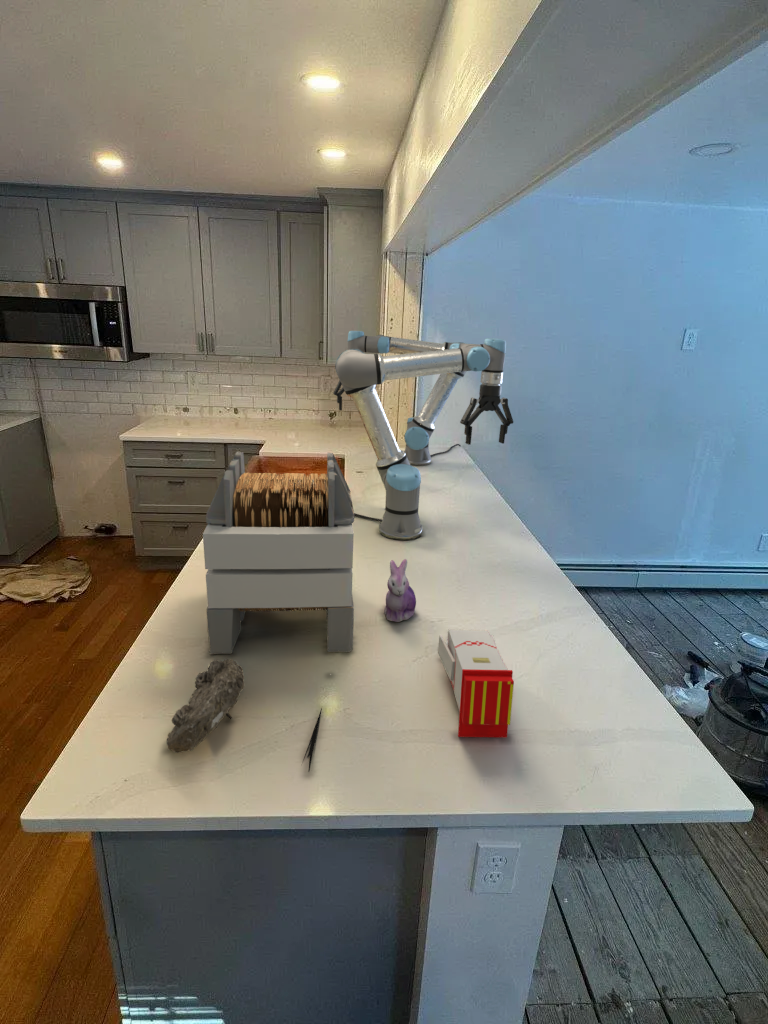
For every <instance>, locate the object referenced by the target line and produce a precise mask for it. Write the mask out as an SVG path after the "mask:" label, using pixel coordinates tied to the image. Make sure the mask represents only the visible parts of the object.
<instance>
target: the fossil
mask: <svg viewBox="0 0 768 1024" xmlns="http://www.w3.org/2000/svg"><path fill="white" fill-rule="evenodd" d="M243 670H244V669H243V667H242V665H240V664H237V662H236V661H235V660H234V659H232V658H231V659H227V658H226V659H224V660H223V661H222V660H217V659H212V660H211V661H210V663H209V665H208V666H207V671H201V672H199V673H198V674H197V675H196V676H195V680H194V684H195V685H194V687H195V689H194V690H193V693H192V694H191V697H190V698H189V700H188V704H184V705H182V706H181V707H180V709H177V710H176V711H175V713H174V715H173V716H172V718H171V723H172V724H173V727H172V730H171V731H170V732H168V734H167V738H166V741H167V742H166V745H167V749H168V750H169V751H173V752H174V753H176V754H178V753H182V752H188V751H189V752H192V751H193V750H195V748H196V747H197V746H199V744H200V743H201V742H203V741H204V740H205V739H206V738H207V737H208V736H209V735H210V734H211V733H212V732H214V730H215V729H217V727H218V726H219V724H220V722H221V721H222V720H223V719H224V718H225V716H226V717H227V719H229V720H233V717H232V715H230V714H229V710H230V709H231V708H234V706H235V704H236V703H237V702H238V699H239V697H240V695H241V693H242V691H243V690H245V689H244V688H245V675H244V671H243Z"/></svg>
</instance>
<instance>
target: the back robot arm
mask: <svg viewBox="0 0 768 1024" xmlns="http://www.w3.org/2000/svg"><path fill="white" fill-rule="evenodd" d="M454 343H455V342H448V341H444V342H443V343H440V342H431V341H424V340H417V339H409V338H403V337H395V336H388V335H387V336H386V335H384V334H377V335H375V336H374V335H365V332H364V331H363V330H349V331H348V333H347V350H350V349H357V350H360V351H362V352H363V353H364V354H380V355H381V354H388V353H389V354H395V355H400V354H409V353H418V352H428V351H437V350H446V349H449V348H450V346H451V344H454ZM458 343H463V344H466V342H465V343H464V342H458ZM466 373H467V371H463V372H453V373H444V374H439V376H438V378H437V380H436V381H435V383H434V386H433V387H432V389H431V391H430V393H429V395H428V397H427V398H426V400H425V402H424V403H423V406H422V407H421V409H420V411H419V414H418V415H415V416H413V417H408V418H407V422H406V431H405V433H404V438H403V439H404V443H405V448H404V450H403V451H404V452H405V454H406V456H407V458H408V460H409V461H410V462H411V464H410V465H411V466H428V465H430V464H431V463H432V457H434V456H438V455H443V454H446V453H449V452H450V451H451V450H452V449H453V448H455V447H456V446H459V447H462V446H461V444H460V443H456V444H453V445H452V446H450V448H449V449H448V450H445V451H440V452H435V453H433V454H431V453H430V449H429V446H430V445H429V444H430V439H431V437H432V435H433V433H434V432H435V429H436V427H435V422H436V421H437V419H438V417H439V416H440V414H441V412H442V410H443V408H444V406H445V404H446V403H447V401H448V399H449V398H450V395H451V394H452V392H453V390H454V388H455V386H456V385H457V383H458V381H459V380H461V379H463V378H464V377H465V375H466ZM338 380H339V379H338ZM332 393H333V395H334V396H336V403H337V404H338V410H339V411H343V396H342V395H343V394H344V393H345V390H344V388H343V386H342V383H341V381H340V380H339V381H338V383H337V385H336V387H335V388H334V391H333V392H332Z"/></svg>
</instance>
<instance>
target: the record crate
mask: <svg viewBox="0 0 768 1024" xmlns="http://www.w3.org/2000/svg"><path fill="white" fill-rule="evenodd" d="M244 455H245V454H244V451H242V452H241V451H236V452H235V454H234V456H233V458H232V459H230V463H229V465H228V467H227V469H226V470H224V473H223V475H222V478H221V479H220V482H219V484H218V487H217V489H216V491H215V494H214V495H213V497H212V500H211V502H210V505H209V507H208V509H207V511H206V515H205V523H206V524H207V525H206V527H205V529H204V531H203V533H202V543H203V558H204V569H205V570H206V573H205V584H206V587H205V588H206V598H207V599H206V601H207V607H206V623H207V634H208V641H209V642H208V643H209V650H208V653H209V655H216V654H217V655H218V654H221V655H222V654H223V655H226V654H227V655H228V654H230V655H231V654H232V653H233V650H234V648H235V647H236V643H237V641H238V638H239V636H240V634H241V630H242V626H241V625H242V623H241V622H243V621H244V618H245V615H246V612H272V611H273V612H279V611H280V612H284V611H286V612H288V611H289V612H291V611H292V612H293V611H294V612H295V611H303V612H304V611H322V610H323V611H326V636H327V637H326V641H327V645H326V646H327V652H329V653H330V652H332V653H333V652H343V653H349V652H351V651H352V650H354V617H355V616H354V614H355V607H354V598H353V575H354V573H353V566H354V563H353V562H354V537H355V536H354V535H355V532H354V527H353V524H354V522H355V516H354V513H355V511H354V506H353V505H354V504H353V500H352V495H351V489H350V487H349V485H348V483H347V480H346V479H345V476H344V474H343V472H342V470H341V467H340V465H339V463H338V461H337V459H336V457H335V455H334V453H333V452H327V453H326V456H327V457H326V468H327V469H326V473H320V474H318V473H307V474H306V473H303V472H302V473H299V472H298V473H297V472H294V473H293V472H292V473H291V472H290V473H288V472H283V473H276V472H273V473H271V472H263V473H262V472H259V473H258V472H253V473H252V472H245V468H246V467H245V456H244Z"/></svg>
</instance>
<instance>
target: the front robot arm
mask: <svg viewBox="0 0 768 1024" xmlns="http://www.w3.org/2000/svg"><path fill="white" fill-rule="evenodd" d="M453 343H454V344H451V346H450V348H449V349H446V350H437V351H428V352H418V353H409V354H392V355H381V354H380V353H365V352H362V351H360V350H357V349H350V350H348V349H346V350H344V351H343V352H341V353H340V354H339V355H338V357H337V358H336V361H335V365H334V366H335V372H336V375H337V378H338V380H340V381H341V383H342V385H341V387H343V388H344V390H345V391H344V393H345V395H346V396H347V397H349V398H351V399H352V401H353V403H354V406H355V408H356V410H357V413H358V415H359V418H360V420H361V423H362V425H363V427H364V429H365V433H366V434H367V436H368V439H369V442H370V444H371V446H372V448H373V451H374V453H375V456H376V459H377V460H376V462H375V466H376V469H377V471H378V474H379V476H380V479H381V483H382V484H383V486H384V488H385V504H384V505H385V507H384V508H385V509H384V513H383V515H382V519H381V518H376V517H371V516H368V515H364V514H359V513H355V512H354V517H357V518H360V519H365V520H369V521H373V522H374V521H375V522H379V525H378V533H379V534H380V535H381V536H382V537H385V538H387V539H389V540H395V541H410V540H415V539H418V538H420V537H421V536H422V535H423V525H422V524H421V518H420V515H419V507H420V506H419V505H420V504H419V503H420V491H421V483H422V477H421V476H422V475H421V471H420V470H419V468H417V467H416V466H414V465H410V463H409V461H408V458H407V456H406V454H405V452H404V451H405V450H401V449H400V447H399V445H398V443H397V440H396V437H395V435H394V432H393V430H392V427H391V425H390V421H389V419H388V417H387V415H386V413H385V409H384V407H383V404H382V402H381V400H380V397H379V395H378V392H377V390H376V386H377V385H382V384H384V382H385V381H393V380H401V379H410V378H418V377H427V376H433V375H434V376H435V375H436V376H437V375H440V374H444V373H453V372H463V371H466V372H470V371H471V372H481V374H480V383H481V384H480V385H479V391H478V392H479V393H478V394H479V397H478V398H475V397H470V401H469V404H468V406H467V408H466V410H465V412H464V413H463V416H462V417H461V419H460V421H459V423H460V424H461V425H464V433H463V434H464V435H465V444H466V445H468V446H470V445H472V435H473V426H472V424H473V423H475V421H476V420H477V419H478V417H479V416H480V415H481V414H482V413H483V412H494V413H495V414H496V415H497V417H498V419H499V420H500V421H501V424H500V427H499V437H498V443H500V444H505V439H506V435H507V433H508V429H509V426H510V425H513V424H514V419H513V416H512V413H511V410H510V407H509V399H508V398H507V397H502V398H501V395H502V384H503V377H504V369H505V368H504V367H505V361H506V354H507V353H506V352H507V342H506V340H505V339H503V338H489V337H488V338H484V341H483V343H480V344H479V343H465V344H463V343H464V342H461V343H459V342H453ZM500 404H501V407H502V410H503V411H502V410H501V408H500V406H499V405H500ZM476 405H478V406H476Z"/></svg>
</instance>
